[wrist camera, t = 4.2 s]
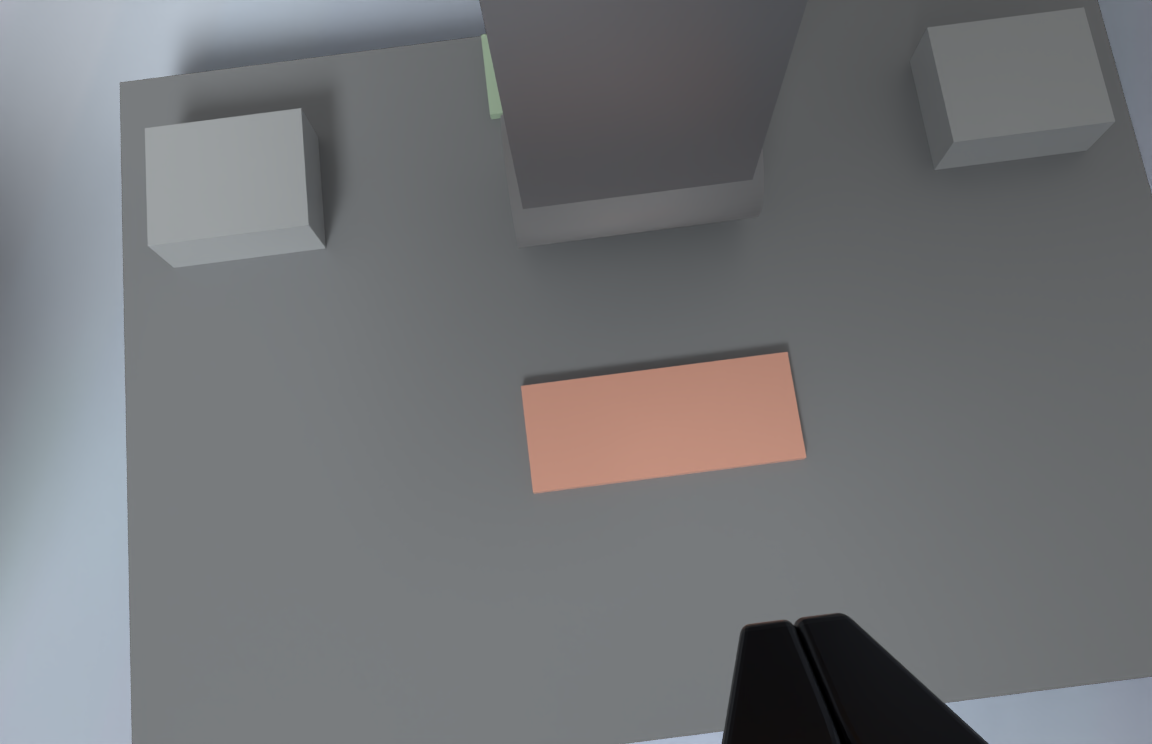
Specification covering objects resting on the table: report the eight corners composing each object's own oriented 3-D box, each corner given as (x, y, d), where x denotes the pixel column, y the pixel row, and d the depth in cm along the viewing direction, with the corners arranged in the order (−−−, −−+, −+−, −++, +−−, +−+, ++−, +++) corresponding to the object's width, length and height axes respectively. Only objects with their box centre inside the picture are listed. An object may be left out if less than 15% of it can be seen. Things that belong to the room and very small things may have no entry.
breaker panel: (1217, 657, 20) (1327, 661, 17) (179, 790, 20) (100, 817, 17) (1046, 13, 24) (1112, -81, 20) (160, 127, 24) (91, 51, 20)
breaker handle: (751, 236, 20) (953, -337, 8) (523, 266, 20) (394, -266, 8) (731, 123, 21) (893, -566, 9) (509, 151, 21) (371, -499, 9)
